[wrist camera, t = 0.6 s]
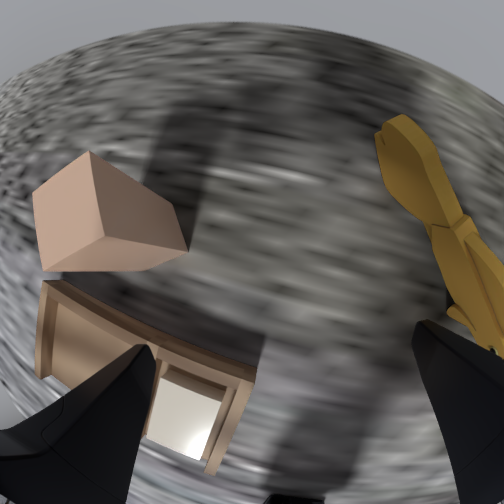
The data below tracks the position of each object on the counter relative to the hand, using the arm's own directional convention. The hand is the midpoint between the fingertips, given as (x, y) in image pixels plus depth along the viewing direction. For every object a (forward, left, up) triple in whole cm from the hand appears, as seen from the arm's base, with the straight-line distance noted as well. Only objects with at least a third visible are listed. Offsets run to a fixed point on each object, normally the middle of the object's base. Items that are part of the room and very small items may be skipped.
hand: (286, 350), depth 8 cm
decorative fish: (+8, -12, -14) cm, 20 cm away
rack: (-11, +10, -13) cm, 20 cm away
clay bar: (+2, +11, -13) cm, 17 cm away
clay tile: (-12, +4, -12) cm, 17 cm away
